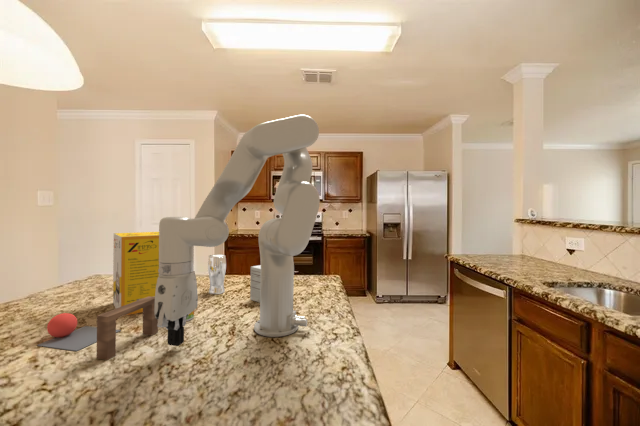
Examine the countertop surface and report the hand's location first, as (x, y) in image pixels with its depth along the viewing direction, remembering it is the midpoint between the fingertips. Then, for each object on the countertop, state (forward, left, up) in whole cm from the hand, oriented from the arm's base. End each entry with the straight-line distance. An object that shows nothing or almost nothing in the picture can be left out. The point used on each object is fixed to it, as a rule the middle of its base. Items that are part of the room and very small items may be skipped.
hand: (175, 343), depth 70 cm
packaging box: (+33, -26, -2) cm, 42 cm away
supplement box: (-5, -42, -2) cm, 42 cm away
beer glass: (+17, -46, -2) cm, 49 cm away
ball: (+34, +1, +2) cm, 34 cm away
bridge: (+13, 0, -2) cm, 13 cm away
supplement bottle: (+11, -18, -2) cm, 21 cm away
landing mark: (+28, 0, -2) cm, 28 cm away
